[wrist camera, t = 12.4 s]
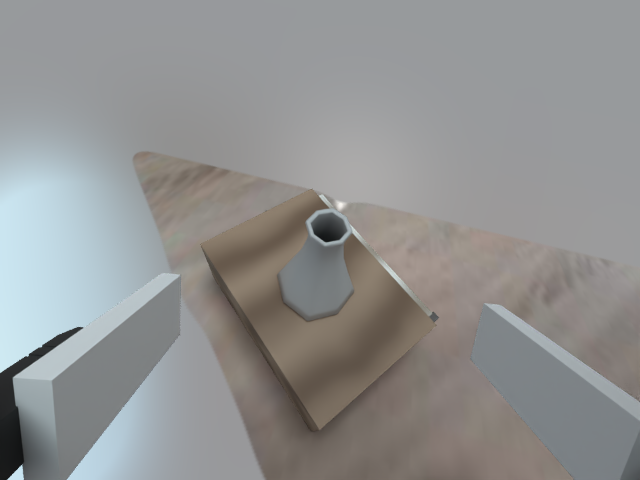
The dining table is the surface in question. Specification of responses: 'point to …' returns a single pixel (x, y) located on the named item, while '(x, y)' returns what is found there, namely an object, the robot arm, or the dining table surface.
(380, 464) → the dining table surface
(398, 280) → the cabinet
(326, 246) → the flask
